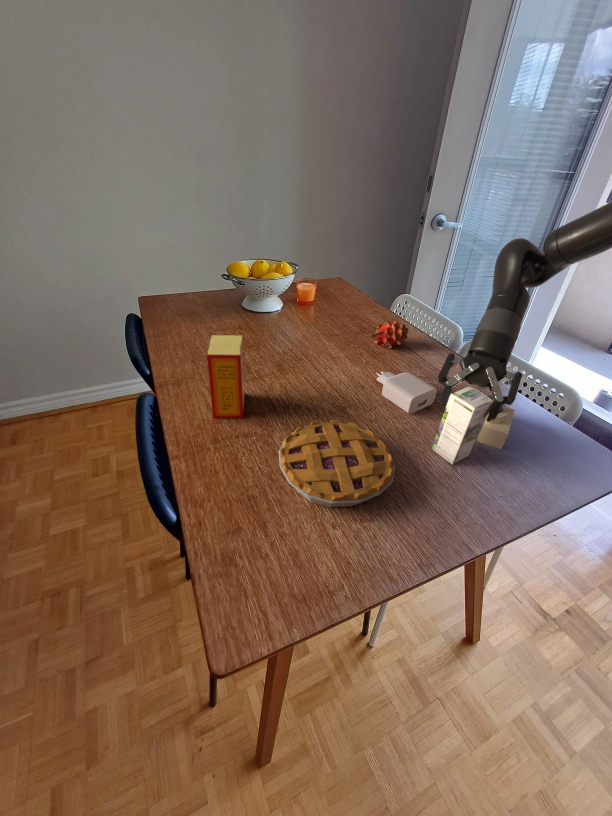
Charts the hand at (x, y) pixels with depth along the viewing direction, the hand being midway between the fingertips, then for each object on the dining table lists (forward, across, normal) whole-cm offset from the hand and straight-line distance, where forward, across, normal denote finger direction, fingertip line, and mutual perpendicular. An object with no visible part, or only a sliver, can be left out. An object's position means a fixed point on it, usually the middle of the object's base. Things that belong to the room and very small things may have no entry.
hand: (465, 413), depth 76 cm
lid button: (-6, -4, -13) cm, 15 cm away
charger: (-3, +17, -19) cm, 25 cm away
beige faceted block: (-2, -4, -17) cm, 18 cm away
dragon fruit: (-20, +29, -36) cm, 50 cm away
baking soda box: (+16, +48, +1) cm, 51 cm away
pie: (+20, +18, +5) cm, 27 cm away
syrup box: (+7, 0, -8) cm, 11 cm away
